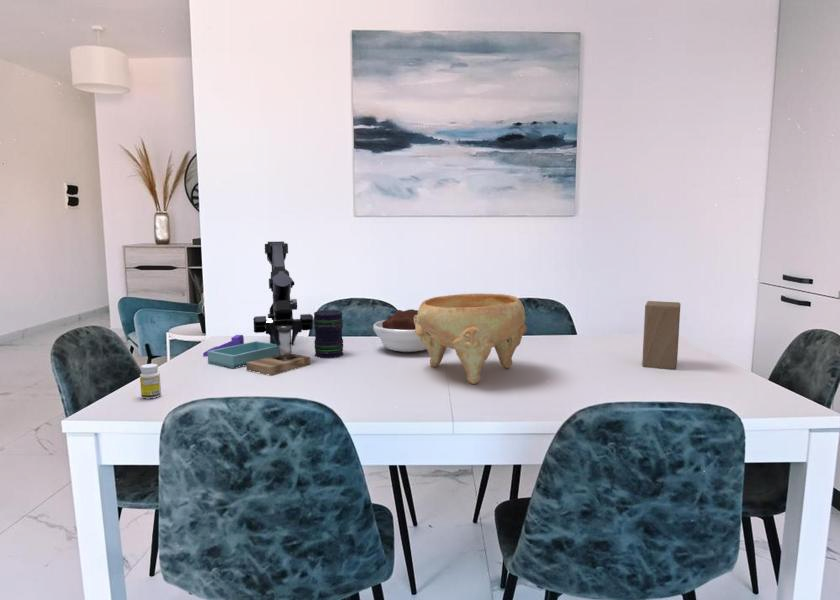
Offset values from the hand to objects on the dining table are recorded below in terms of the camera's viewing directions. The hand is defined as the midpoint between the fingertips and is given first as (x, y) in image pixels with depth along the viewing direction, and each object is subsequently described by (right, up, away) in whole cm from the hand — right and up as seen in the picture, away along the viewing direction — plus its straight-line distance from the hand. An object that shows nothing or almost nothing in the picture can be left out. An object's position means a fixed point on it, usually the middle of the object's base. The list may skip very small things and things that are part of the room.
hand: (285, 344), depth 181 cm
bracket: (-26, -5, +19) cm, 33 cm away
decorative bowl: (+58, -8, -5) cm, 58 cm away
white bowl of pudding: (+38, -4, +25) cm, 46 cm away
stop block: (-2, -7, 0) cm, 7 cm away
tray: (-16, -6, +10) cm, 19 cm away
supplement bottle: (-28, -11, -31) cm, 43 cm away
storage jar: (+11, -5, +17) cm, 21 cm away
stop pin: (0, -7, +2) cm, 7 cm away
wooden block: (+120, -7, +2) cm, 120 cm away
